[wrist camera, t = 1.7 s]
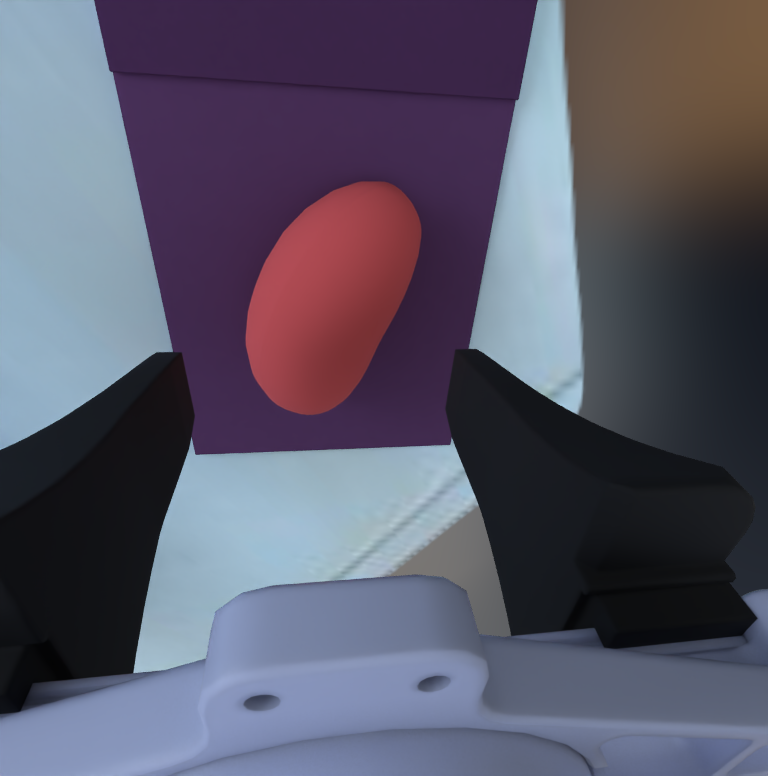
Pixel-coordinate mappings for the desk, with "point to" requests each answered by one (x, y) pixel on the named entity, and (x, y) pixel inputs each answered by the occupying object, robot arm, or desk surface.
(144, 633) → the desk surface
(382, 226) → the red oval piece
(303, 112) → the cloth
